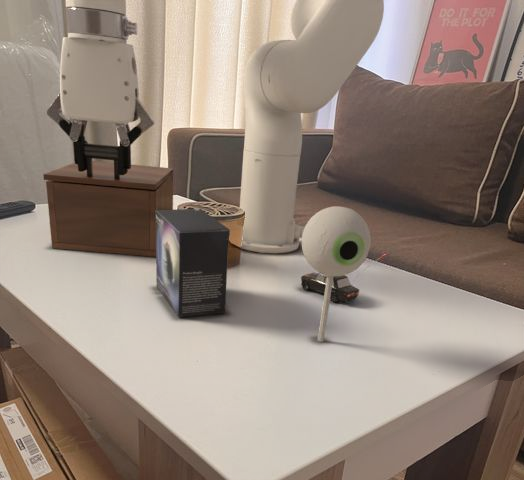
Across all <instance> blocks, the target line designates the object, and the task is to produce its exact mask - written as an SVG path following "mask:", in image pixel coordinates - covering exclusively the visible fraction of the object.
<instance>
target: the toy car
mask: <svg viewBox="0 0 524 480" xmlns="http://www.w3.org/2000/svg"><path fill="white" fill-rule="evenodd" d="M386 256H387V253H385V254H382V255H381V256H380V257H379V258H377V259H376V260H375V261H373V262H372V263H371V264H369V265H368V266H367V267H366V268H364V269H363V271H365V270H366V269H367V268H369V267H370V266H371V265H372V264H374V263H375V262H377V261H378V260H379V259H381V258H382V259H383V258H385V257H386ZM357 277H358V276H356V277H355V279H357ZM300 281H301V284H300V286H301V288H302V289H303V291H309V290H311V289H312V290H314V291H316V292H319V293H321V294H323V295H324V294H325V287H326V281H327V275H324V274H322V273H319V272H311V273H306V274H303V275H301V276H300ZM354 283H355V281H353V282H352V283H351V281H350V279H349V277H348V276H347V275H343V276H334V277H333V283H332V289H331V296H330V302H332V303H336V302H337V303H338V301H341V302H348V301H350V302H351V300H355V299H357V298H358V296H359V294H360V289H359V288H358V287H356V286H354V285H353V284H354Z"/></svg>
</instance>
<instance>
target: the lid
mask: <svg viewBox="0 0 524 480" xmlns="http://www.w3.org/2000/svg"><path fill="white" fill-rule="evenodd" d="M118 146H119V145H111V144H101V143H100V144H99V143H89V142H88V143H85V144H84V147H83V153H84V157H85V158H86V167H87V170H85V171H83V172H81V171H78V164H75V162H73V163H70V164H68V165H65V166H62V167H59V168H57V169H54V170H51V171H49V172H46V173H43V180H44V181H48V180H51V181H62V182H73V183H84V184H96V185H107V186H118V187H129V188H140V189H151V190H155V189H156V188H157V187H159V186H160V185H161V184H162V183H163V182H164V181H165V180H166V179H167V178H168V177H169V176H170V175H172V174H173V175H174V168H172V167H163V166H162V167H161V166H154V165H153V166H152V165H150V166H149V165H139V164H131V168H130V169H128V172H127V173H126V174H125V175H120V174H118V152H117V148H118ZM93 159H94V160H93ZM95 159H96V160H95ZM97 160H99V161H97ZM100 160H106V161H100ZM108 161H109V162H108ZM110 161H113V162H110Z"/></svg>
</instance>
